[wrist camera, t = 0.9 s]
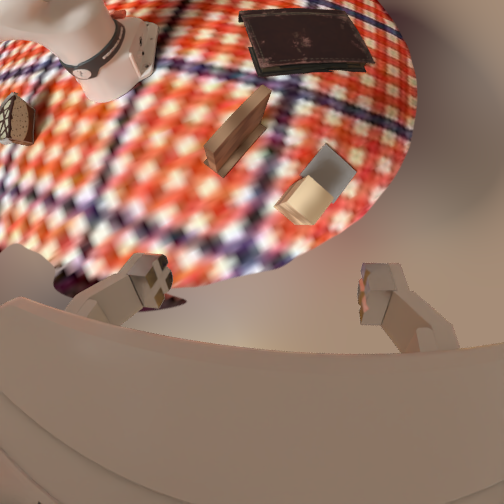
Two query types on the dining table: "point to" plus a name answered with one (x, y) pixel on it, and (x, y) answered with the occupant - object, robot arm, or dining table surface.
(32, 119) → the brown cake slice
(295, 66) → the diary
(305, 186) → the tan boxy piece
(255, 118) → the screen
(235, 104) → the dining table surface
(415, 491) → the robot arm
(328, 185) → the slate coaster
